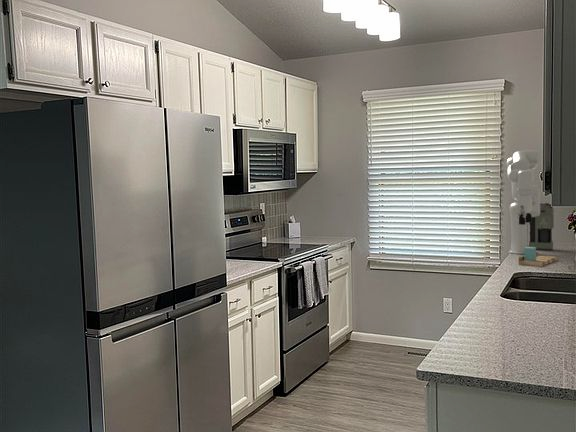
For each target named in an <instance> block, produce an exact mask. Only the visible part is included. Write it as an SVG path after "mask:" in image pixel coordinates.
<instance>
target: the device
mask: <svg viewBox="0 0 576 432" xmlns="http://www.w3.org/2000/svg"><path fill="white" fill-rule="evenodd" d="M551 205H552V204H550V203H548V202H545V203H541V202H540V215H539V216H538V217H532V222H531V223H528V225H529V232H528V235H529V241H528V246H529V247H536V251H554V241H553V240H552V239H553V238H552V237H553V236H552V231H553V228H554V219H555V217H554V216H555V215H554V213H555V211H554V210H555V209H554V208H553V207H554V206H553V207H551Z"/></svg>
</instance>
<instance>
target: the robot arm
mask: <svg viewBox="0 0 576 432" xmlns="http://www.w3.org/2000/svg"><path fill="white" fill-rule="evenodd" d="M539 162H540V153H539V151H537V150H536V149H524V150H523V149H522V150H517V151H516V152H514V153H513V155H512V156H511V157H509V158H508V159H507V161H506V169H507V172H506V174H507V180H508V182H509V183H510V184H511V197H512V199H513V200H514V201H516V202H512V203H511V204H510V205H509V214H510V223H511V225H510V226H511V228H510V234H511V236H510V237H511V239H510V241H511V243H510V245H511V246H510V247H511V248H510V249H509V250H508V254H509V253H510V254H519V255H524V248H526V247H529V241H528V240H529V238H528V237H529V231H528V229H529V228H528V227H529V223H531V222H532V217H538V216H539V215H540V203H541V194H540V193H541V192H540V188H539V186H537V185H536V184H534V181H535V180H536V173H535V171H534V170H536V169H537V168H538V165H539Z"/></svg>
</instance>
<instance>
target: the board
mask: <svg viewBox="0 0 576 432" xmlns="http://www.w3.org/2000/svg"><path fill="white" fill-rule="evenodd" d="M557 258H558V257H557V256H551V255H539V254H538V251H536V260H534V261H525V260H524V255H521V256H518V265H519V266H520V265H523V266H532V265H533V266H534V267H544V266H545V265H548V264H551V263H554V262H556V261H557V260H558V259H557ZM533 266H532V267H533Z"/></svg>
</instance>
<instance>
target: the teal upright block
mask: <svg viewBox="0 0 576 432" xmlns="http://www.w3.org/2000/svg"><path fill="white" fill-rule="evenodd" d="M536 252H537V250H536V247H526V248H524V254H523V256H524V260H525V261H534V260H536Z"/></svg>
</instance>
